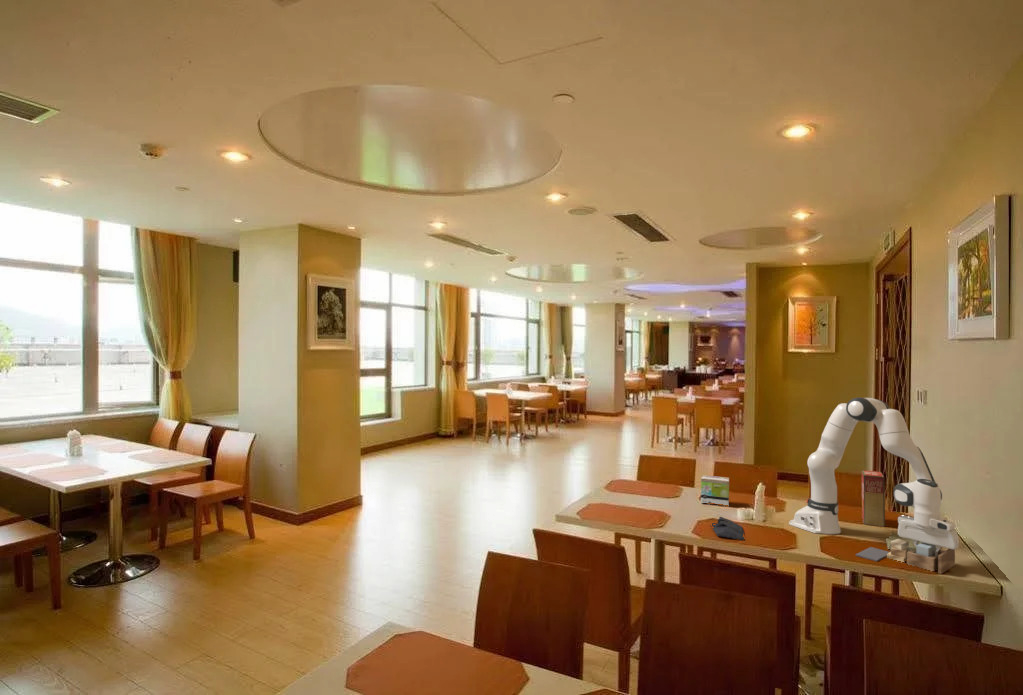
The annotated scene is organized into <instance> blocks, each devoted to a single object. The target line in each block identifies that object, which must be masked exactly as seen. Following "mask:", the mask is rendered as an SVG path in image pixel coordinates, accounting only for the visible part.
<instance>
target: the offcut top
mask: <svg viewBox="0 0 1023 695" xmlns="http://www.w3.org/2000/svg"><path fill="white" fill-rule="evenodd" d="M891 547H892V548H896V549H899V550H903V549H906V548H909V542H908V541H904V540H900V539H896V540H893V541H891Z"/></svg>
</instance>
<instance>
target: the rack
mask: <svg viewBox="0 0 1023 695" xmlns="http://www.w3.org/2000/svg"><path fill="white" fill-rule="evenodd" d="M907 564H908V566H910V565H912V566H911V567H914V566H917V567H919V568H918V569H921V568H923V569H922V570H925V569H927V570H926V571H928V570H930V571H929V572H932V571H934V572H935V570H936V569H937V570H936V571H937V574H940V575H942V574H944V573H945V572H947V571H948V570H950V569H951V568H952V567H954V566H955V565H956V549H955V550H953V549H949V548H947V549H943V548H941V549H940V550H939V552H938V557H936V556H932V557H927V556H923V555H920V554H916V553H915V551H913V550H910V551H908V552H907V561H906V565H907ZM917 567H916V568H917Z"/></svg>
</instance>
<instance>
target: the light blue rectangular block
mask: <svg viewBox="0 0 1023 695" xmlns="http://www.w3.org/2000/svg"><path fill="white" fill-rule="evenodd" d="M936 550H937V548H936V545H932V544H928V543H924V542H922V543H920V544H919V545H917V546H916V554H920V555H923V556H927V557H932V556H933V555H932V554H933V553H932V551H936ZM936 557H938V556H936Z"/></svg>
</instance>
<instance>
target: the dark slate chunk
mask: <svg viewBox="0 0 1023 695" xmlns="http://www.w3.org/2000/svg"><path fill="white" fill-rule="evenodd" d="M711 523H712V522H711ZM713 524H716V525H713ZM712 526H713V527H714V528H713V529H712V530H713V532H715V534H716V536H717V537H719V536H721V537H720V538H725V537H726V539H730V538H732V539H731V540H735V539H739V540H738V541H746V540H745V539H746V538H745V539H744V537H743V534H745V531H744V528H743V526H741V525H740V524H737V523H736V522H734V521H733V520H731V519H728V518H726V517H722V516H719V517H718V519H717V522H714V523H712ZM743 539H744V540H743Z"/></svg>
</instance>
